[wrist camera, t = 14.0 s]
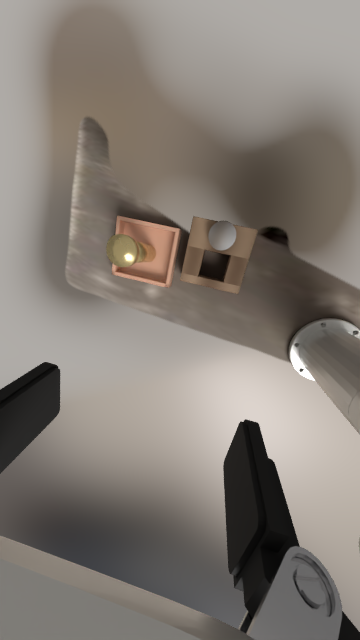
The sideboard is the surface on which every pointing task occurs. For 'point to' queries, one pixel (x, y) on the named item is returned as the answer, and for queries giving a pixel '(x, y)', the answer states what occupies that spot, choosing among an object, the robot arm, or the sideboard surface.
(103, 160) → the sideboard surface
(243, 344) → the sideboard surface
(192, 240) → the block
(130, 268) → the tray
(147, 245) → the pin
